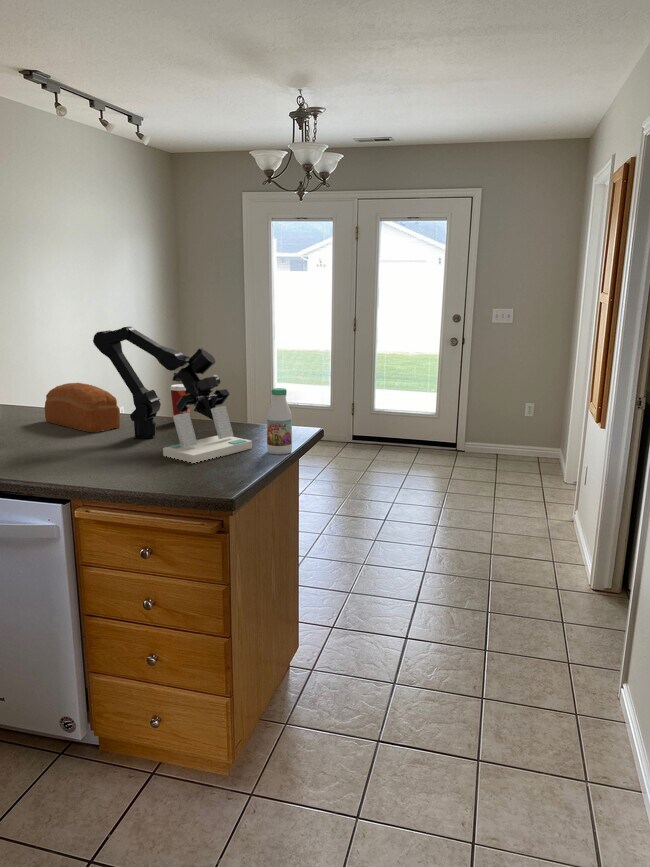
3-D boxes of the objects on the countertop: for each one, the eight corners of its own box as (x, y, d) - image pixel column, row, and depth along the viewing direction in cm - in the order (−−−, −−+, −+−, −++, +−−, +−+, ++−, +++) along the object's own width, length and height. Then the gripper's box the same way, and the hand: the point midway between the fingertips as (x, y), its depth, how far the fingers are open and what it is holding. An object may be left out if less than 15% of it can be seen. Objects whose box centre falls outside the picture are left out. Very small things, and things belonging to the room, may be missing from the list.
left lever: (181, 448, 196) (172, 416, 196) (194, 445, 200) (185, 413, 200) (184, 447, 195) (175, 414, 195) (197, 444, 199) (189, 412, 199)
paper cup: (187, 424, 244) (185, 387, 240) (168, 423, 245) (166, 386, 242) (195, 420, 251) (194, 384, 248) (176, 419, 252) (175, 383, 249)
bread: (90, 434, 227) (87, 390, 224) (42, 422, 247) (38, 381, 244) (124, 428, 238) (122, 385, 234) (75, 416, 258) (72, 377, 254)
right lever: (218, 439, 207) (210, 409, 207) (230, 436, 211) (222, 406, 211) (222, 438, 206) (213, 407, 206) (233, 435, 210) (225, 405, 210)
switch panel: (163, 455, 199) (162, 446, 198) (222, 441, 217) (221, 433, 217) (193, 463, 190) (193, 454, 190) (252, 448, 209) (251, 439, 208)
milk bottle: (267, 449, 208) (266, 387, 203) (291, 448, 208) (291, 386, 204) (267, 455, 200) (266, 390, 196) (292, 455, 201) (292, 390, 196)
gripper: (180, 370, 203) (205, 409, 199) (224, 364, 217) (249, 400, 213) (165, 392, 209) (189, 431, 205) (209, 385, 224) (233, 421, 219)
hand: (216, 420), depth 211 cm, fingers closed
